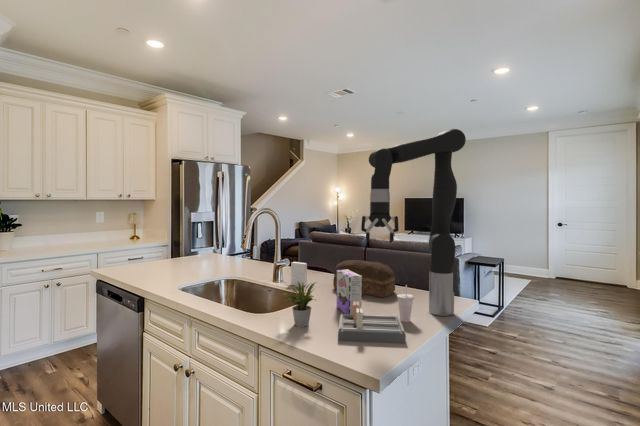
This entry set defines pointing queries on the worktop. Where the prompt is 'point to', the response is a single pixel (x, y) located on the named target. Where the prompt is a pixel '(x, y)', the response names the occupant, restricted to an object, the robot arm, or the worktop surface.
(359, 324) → the fader near
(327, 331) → the worktop surface
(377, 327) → the console
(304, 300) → the house plant
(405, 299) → the smoothie
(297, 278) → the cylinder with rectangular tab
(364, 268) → the bread
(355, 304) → the block
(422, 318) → the worktop surface
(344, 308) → the candy box
